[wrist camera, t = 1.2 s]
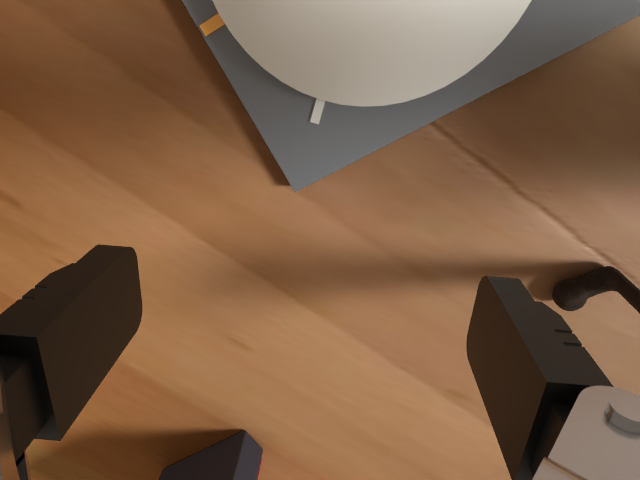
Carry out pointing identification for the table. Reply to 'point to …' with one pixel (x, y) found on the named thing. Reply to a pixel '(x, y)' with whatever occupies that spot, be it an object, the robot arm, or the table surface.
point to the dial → (369, 43)
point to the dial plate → (402, 118)
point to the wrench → (594, 288)
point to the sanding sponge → (220, 461)
